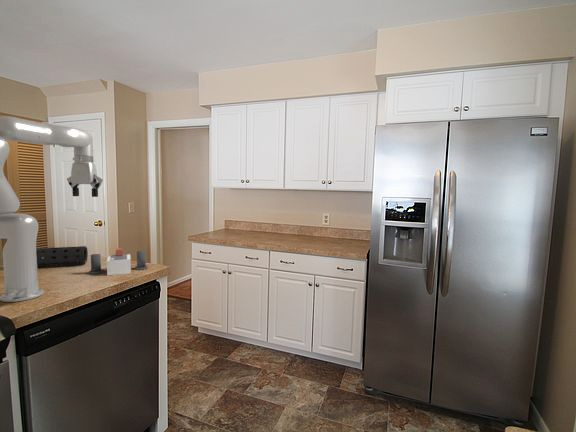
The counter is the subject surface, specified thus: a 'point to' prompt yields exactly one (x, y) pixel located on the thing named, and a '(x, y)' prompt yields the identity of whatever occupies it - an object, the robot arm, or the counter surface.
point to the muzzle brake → (61, 256)
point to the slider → (119, 252)
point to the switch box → (118, 264)
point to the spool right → (141, 261)
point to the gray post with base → (95, 264)
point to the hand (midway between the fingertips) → (85, 196)
